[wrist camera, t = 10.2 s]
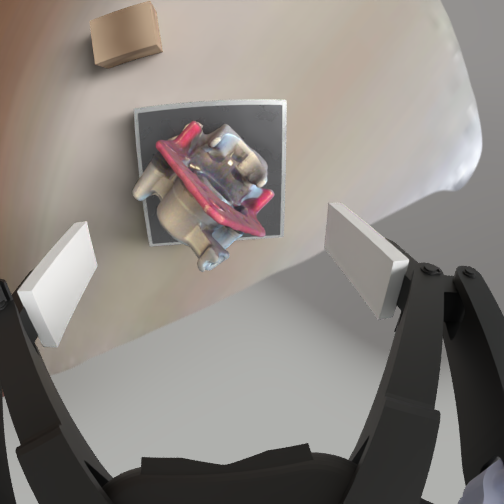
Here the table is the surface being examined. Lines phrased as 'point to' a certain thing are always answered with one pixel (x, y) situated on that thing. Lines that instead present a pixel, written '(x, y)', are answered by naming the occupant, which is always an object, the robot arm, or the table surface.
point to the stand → (211, 117)
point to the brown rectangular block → (125, 35)
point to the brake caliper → (206, 190)
